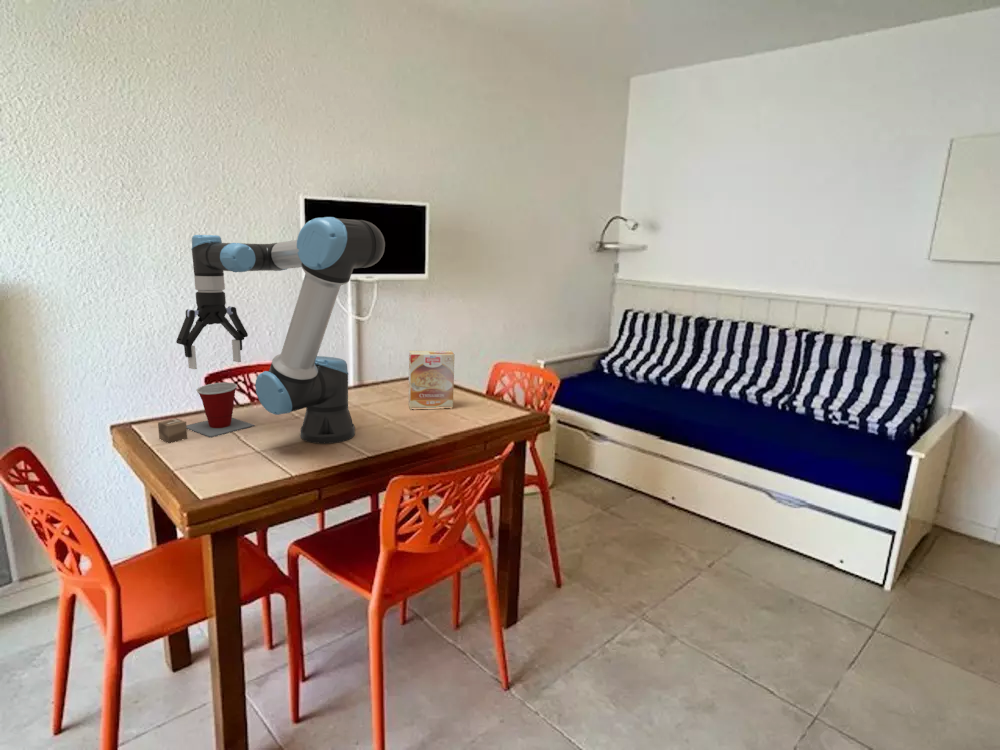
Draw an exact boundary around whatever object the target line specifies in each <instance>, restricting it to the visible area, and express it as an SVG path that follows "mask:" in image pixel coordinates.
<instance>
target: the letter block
mask: <svg viewBox="0 0 1000 750" xmlns="http://www.w3.org/2000/svg"><path fill="white" fill-rule="evenodd" d="M186 425H187V421H185V420H182V419H179V418H176V417H175V418H171V419H167V420H162V421H158V422H157V426H158V427H157V428H158V438H159V439H158V440H160V439H161V440H160V441H162V440H163V441H162V442H165V441H166V442H165V443H167V442H168V444H171V442H172V443H175V441H176V442H179V441H178V440H180V441H183V440H182V439H184V440H187V439H188V429H187V428H186Z"/></svg>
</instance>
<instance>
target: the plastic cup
mask: <svg viewBox="0 0 1000 750" xmlns="http://www.w3.org/2000/svg"><path fill="white" fill-rule="evenodd" d="M237 388H238V384H237V383H234V382H225V381H224V382H214V383H209V384H205V385H202V386H199V387H198V388H197V389H196V392H197V394H199V397H200V399H201V402H202V406H203V409H204V412H205V416H206V419H207V420H208V423H209V426H210V427H212V428H224V427H228V426H230V425H231V420H232V418H233V414H234V412H233V411H234V403H235V396H236V389H237Z"/></svg>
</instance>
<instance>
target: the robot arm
mask: <svg viewBox="0 0 1000 750" xmlns="http://www.w3.org/2000/svg"><path fill="white" fill-rule="evenodd" d="M222 240H223V239H222V237H221V236H220V235H214V234H213V235H211V234H193V236H192V237H191V254H192V265H193V266H192V267H193V273H194V275H193V276H194V277H193V278H194V286H195V287H194V289H195V290H196V292H195V300H196V301H195V303H196V306H197V307H196V308H197V309H196V310H195V309H186V310H185V317H184V320H183V323H182V326H181V328H180V331H179V332H178V336H177V339H176V342H175V343H176V344H178V345H183V349H184V356H185V358H187V360H188V369H191V370H197V369H198V366H197V355H196V346H195V345H193V344H194V343H195V341H196V339H198V337H199V335H200V334H201V332H202V331H203V329H204V328H205V327H206V326H207V325H210V326H211V325H214V324H215V325H218V324H219V325H220V324H221V326H222V327H223V328H224V329H225V330H226V331H227V332H228V333H229V334H230V335H231V336H232V338H233V339H231V346H232V347H231V350H232V359H233V360H232V361H233V362H236V363H242V355H241V351H243V341H244V340H245V338H247V337H249V334H248V332H247V330H246V328H245V326H244V324H243V323H242V321H241V318H240V317H239V315H238V312H237V308H236V306H228V307H226V303H227V302H226V301H227V300H226V292H225V291H224V290H226V285H225V276H224V275H225V274H224V271H225V272H233V273H245V272H259V271H263V272H265V271H272V272H273V271H275V272H278V271H279V272H280V271H281V272H282V271H285V270H288V269H298V268H301V269H302V270H303V273H304V276H303V277H304V278H303V281H302V284H301V287H300V290H299V294H298V297H297V300H296V304H295V307H294V310H293V313H292V316H291V320H290V322H289V327H288V330H287V333H286V336H285V338H284V339H285V340H284V342H283V346H282V349H281V353H280V354H277V355H275V356H274V357H273V358H272V360H271V364H270V367H269V370H264V371H263V372H261V373H259V374H258V375H257V377H256V379H255V386H254V387H255V393H256V396H257V399H258V401H259V402H260V404H261V406H262V407H263V408H264V409H265V410H266V411H267V412H269V413H270V414H273V415H284V414H290V413H292V412H295V411H299V410H302V409H306V410H305V414H304V418H303V420H302V421H303V422H302V424H301V426H300V427H301V428H300V431H299V432H300V439H302V440H303V441H305V442H308V443H313V444H337V443H340V442H341V443H342V442H345V441H348V440H350V439H352V438H353V437H354V436H355V433H356V428H355V425H354V422H353V419H352V416H351V413H350V411H349V371H348V363H347V361H346V360H345V359H343V358H339V357H333V356H323V355H321V356H320V355H318V354H319V352H320V348H321V345H322V342H323V339H324V337H325V334H326V330H327V327H328V325H329V321H330V319H331V316H332V314H333V313H332V312H333V309H334V307H335V304H336V300H337V299H338V295H339V292H340V289H341V286H344V285H345V284H348V283H350V282H349V281H350V280H351V276H352V274H353V271H354V269H362V268H364V269H365V268H369V267H372V266H375V264H377V263H378V262H380V260H381V258H383V255H384V253H385V247H386V241H385V237H384V235H383V233H382V232H381V230H380V228H378V227H377V226H376V225H375V224H373V223H372V222H370V221H367V220H363V219H347V218H337V217H334V216H324V217H315V218H312V219H311V220H308V221H307V222H306V223H305V224H304V225H302V227H301V228H300V230H299V233H298V234H297V239H295V240H294V239H293V240H287V241H281V242H274V243H273V242H272V243H241V242H223V241H222ZM226 315H228V317H229V319H230V320H231V322H232V324H233V325H232V324H231V322H230V321H229V319H228V318H227V317H226ZM196 317H198V318H197V320H195V319H196ZM194 322H195V323H194ZM193 324H194V325H193Z"/></svg>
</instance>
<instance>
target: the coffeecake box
mask: <svg viewBox="0 0 1000 750" xmlns="http://www.w3.org/2000/svg"><path fill="white" fill-rule="evenodd" d="M454 378H455V354H454V352H453V351H452V350H409V351H408V407H409V410H410V409H412V408H436V407H454V383H455V379H454Z"/></svg>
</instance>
